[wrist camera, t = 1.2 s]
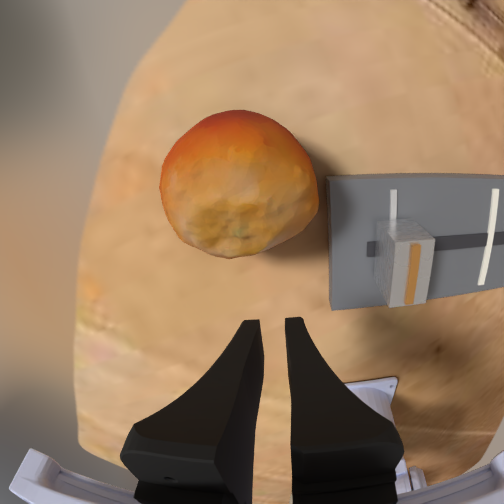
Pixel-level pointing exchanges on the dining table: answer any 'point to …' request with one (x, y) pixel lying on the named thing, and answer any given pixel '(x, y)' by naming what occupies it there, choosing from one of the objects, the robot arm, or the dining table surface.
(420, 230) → the fader cap
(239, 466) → the robot arm
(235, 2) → the dining table surface
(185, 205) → the fruit
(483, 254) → the board
